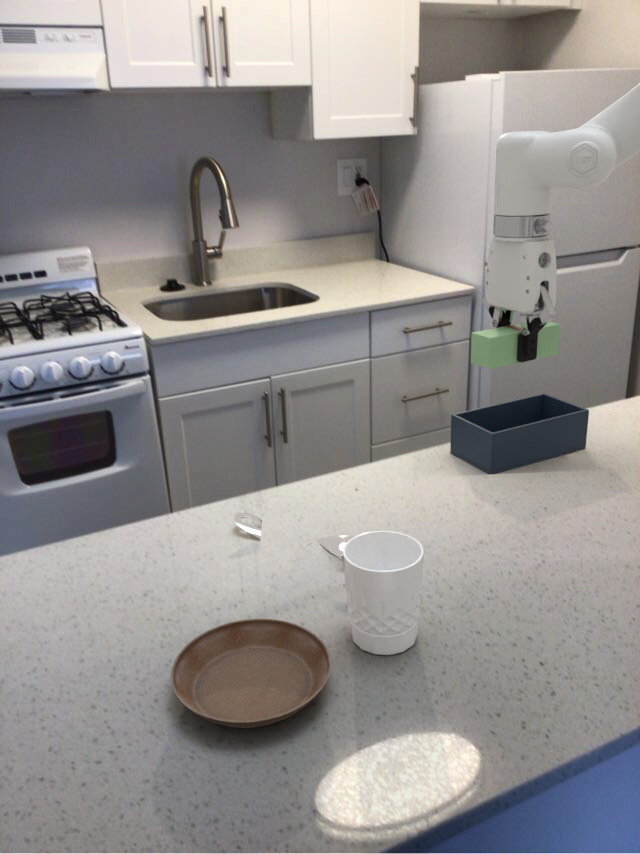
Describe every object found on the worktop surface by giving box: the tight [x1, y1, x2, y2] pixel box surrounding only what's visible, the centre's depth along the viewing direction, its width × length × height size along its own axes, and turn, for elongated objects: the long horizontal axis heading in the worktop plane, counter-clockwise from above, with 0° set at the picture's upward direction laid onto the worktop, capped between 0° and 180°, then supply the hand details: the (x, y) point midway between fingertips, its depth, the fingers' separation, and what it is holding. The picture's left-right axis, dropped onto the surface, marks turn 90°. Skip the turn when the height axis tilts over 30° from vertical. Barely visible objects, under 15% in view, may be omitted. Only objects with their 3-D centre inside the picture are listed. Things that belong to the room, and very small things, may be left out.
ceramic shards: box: [233, 511, 356, 560], centre depth 95 cm, size 20×4×5 cm
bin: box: [449, 392, 590, 475], centre depth 119 cm, size 19×10×7 cm, turn 117°
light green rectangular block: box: [470, 320, 561, 370], centre depth 109 cm, size 4×13×5 cm, turn 118°
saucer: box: [169, 618, 332, 729], centre depth 70 cm, size 15×15×3 cm
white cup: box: [342, 530, 425, 656], centre depth 76 cm, size 8×8×10 cm
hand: (515, 355), depth 110 cm, fingers closed on light green rectangular block, 4 cm apart
